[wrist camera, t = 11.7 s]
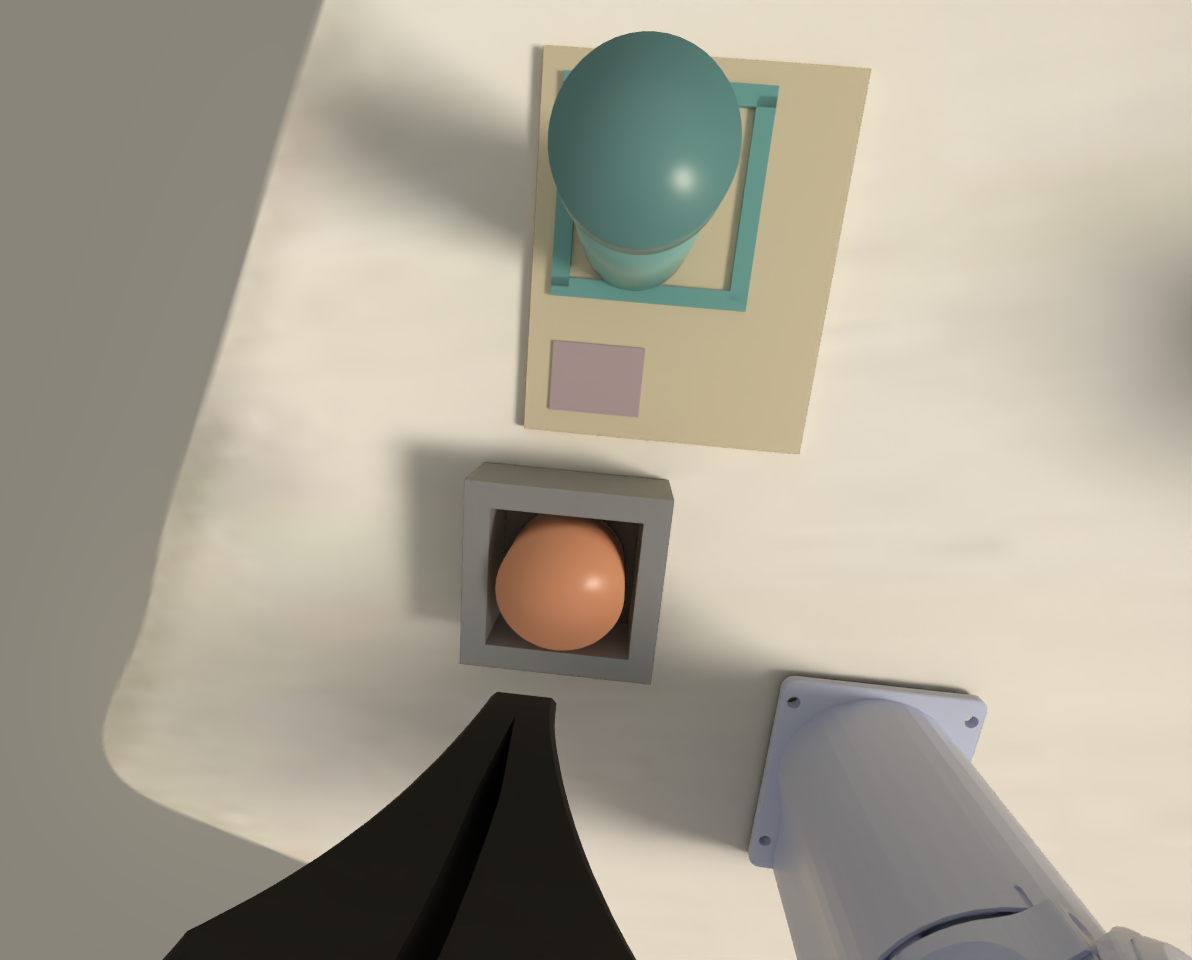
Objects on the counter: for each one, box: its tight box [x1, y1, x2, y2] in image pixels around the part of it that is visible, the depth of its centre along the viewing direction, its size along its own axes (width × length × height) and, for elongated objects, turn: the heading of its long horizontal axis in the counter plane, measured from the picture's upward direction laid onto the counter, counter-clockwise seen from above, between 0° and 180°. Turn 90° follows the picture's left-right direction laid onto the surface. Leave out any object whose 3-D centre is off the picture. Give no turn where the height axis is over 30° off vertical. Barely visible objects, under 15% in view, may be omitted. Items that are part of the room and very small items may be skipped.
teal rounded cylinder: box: [548, 31, 742, 291], centre depth 14 cm, size 4×4×8 cm
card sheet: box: [524, 45, 871, 454], centre depth 18 cm, size 12×10×1 cm
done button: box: [495, 513, 625, 651], centre depth 20 cm, size 4×4×2 cm
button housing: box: [460, 462, 674, 685], centre depth 20 cm, size 7×7×3 cm
